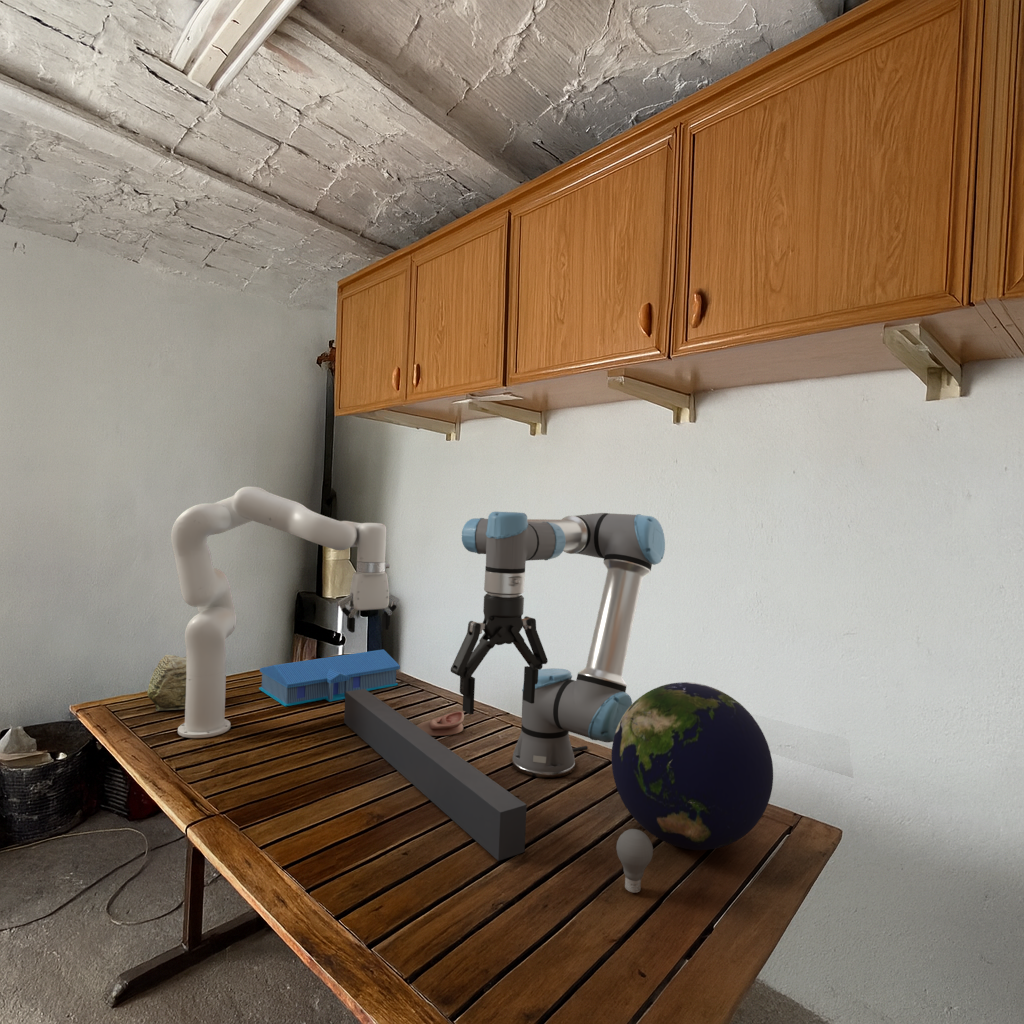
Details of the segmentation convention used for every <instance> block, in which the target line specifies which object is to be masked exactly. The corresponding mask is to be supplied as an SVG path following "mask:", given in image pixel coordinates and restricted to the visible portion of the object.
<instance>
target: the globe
mask: <svg viewBox="0 0 1024 1024" xmlns="http://www.w3.org/2000/svg"><path fill="white" fill-rule="evenodd" d="M611 745H612V746H611V757H610V758H611V771H612V776H613V780H614V784H615V787H616V790H617V792H618V795H619V797H620V799H621V801H622V803H623V804H624V806H625V808H626V809H627V811H628V813H629V815H631V816H632V817H633V819H634V820H635V821H636V822H637V823H638V824H639V825H640V826H641V827H642V828H643V829H644V830H645V831H647V832H648V833H649V834H651V835H652V836H653V837H655V838H656V839H659V840H660V841H662V842H664V843H666V844H668V845H671V846H673V847H676V848H680V849H683V850H684V849H685V850H690V851H691V850H692V851H710V850H716V849H720V848H723V847H726V846H729V845H731V844H733V843H735V842H737V841H739V840H740V839H742V838H744V837H745V836H746V835H747V834H748V833H750V832H751V831H752V830H753V828H755V826H756V825H757V824H758V822H759V821H760V820H761V819H762V817H763V815H764V813H765V812H766V810H767V807H768V805H769V803H770V799H771V796H772V791H773V786H774V785H773V784H774V767H773V766H774V763H773V759H772V753H771V749H770V746H769V743H768V741H767V738H766V736H765V734H764V732H763V730H762V728H761V727H760V725H759V724H758V722H757V721H756V720H755V718H754V717H753V715H752V714H751V713H750V711H748V709H747V708H746V707H745V706H744V705H742V704H741V702H739V701H737V700H736V699H735V698H733V697H732V696H730V695H729V694H728V693H725V692H723V691H721V690H720V689H718V688H715V687H712V686H709V685H705V684H702V683H697V682H692V681H691V682H690V681H685V682H682V681H681V682H673V683H667V684H663V685H660V686H657V687H654V688H652V689H650V690H649V691H647V692H645V693H644V694H642V695H640V697H639V698H637V699H636V700H635V701H633V702H632V704H631V706H630V707H629V708H628V710H627V711H626V712H625V714H624V715H623V717H622V718H621V720H620V722H619V724H618V727H617V729H616V732H615V736H614V739H613V742H612V744H611Z"/></svg>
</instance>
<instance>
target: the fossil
mask: <svg viewBox="0 0 1024 1024" xmlns="http://www.w3.org/2000/svg"><path fill="white" fill-rule="evenodd" d="M186 665H187V656H183V657H182V656H178V655H175V654H174V655H173V654H165V655H164V656H163V657H162V658H161V659H160V660H159V662H158V663H157V666H156V667H155V669H154V670H153V672H152V675H151V677H150V680H149V684H148V688H147V697H148V699H149V700H150V701H152V703H153V704H154V706H155V711H158V712H159V711H162V712H163V711H177V710H185V701H186Z"/></svg>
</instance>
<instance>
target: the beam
mask: <svg viewBox="0 0 1024 1024" xmlns="http://www.w3.org/2000/svg"><path fill="white" fill-rule="evenodd" d="M343 717H344V718H343V723H344V724H345V725H346V726H347V727H348V728H349V729H350V730H351V731H353V733H355V735H357V736H358V737H359V738H361V739H362V740H363V741H364V742H365V744H367V745H368V746H369V747H370V748H372V749H373V750H374V751H375V752H376V753H377V754H378V755H379V756H381V758H383V759H384V760H385V761H386V762H387V763H388V764H389V765H390V766H392V767H393V768H394V769H395V770H396V771H397V772H398V773H400V775H402V776H403V777H404V778H405V779H406V780H407V781H408V782H409V783H410V784H412V785H413V786H414V787H415V788H416V789H417V790H418V791H420V792H421V793H422V794H423V795H424V796H425V797H426V798H427V799H428V800H429V801H431V802H432V803H433V805H435V806H436V807H437V808H439V809H440V810H441V811H442V812H443V813H444V814H445V815H446V816H447V817H448V818H450V819H451V820H452V821H453V822H454V823H455V824H456V825H457V826H458V827H460V828H461V829H462V830H463V831H464V832H465V833H466V834H467V835H469V837H471V838H472V839H473V840H474V841H475V842H476V843H477V844H479V846H481V847H482V848H483V849H484V850H485V851H486V852H487V853H488V854H490V855H491V857H493V858H494V859H496V860H497V862H501V861H503V860H506V859H508V858H511V857H515V856H518V855H521V854H522V853H523V854H524V853H525V851H526V834H527V833H526V832H527V830H526V828H527V810H528V809H527V807H528V805H527V803H525V802H524V801H522V800H521V799H519V798H518V797H517V796H515V795H514V794H513V793H511V792H510V791H508V790H507V789H506V788H504V787H503V786H502V785H500V784H498V783H497V782H496V781H494V779H491V777H490V776H488V775H486V774H485V773H484V772H482V771H480V770H479V769H477V767H475V766H474V765H472V764H471V763H469V762H468V761H467V760H465V759H463V757H461V756H460V755H459V754H457V753H455V752H454V751H453V750H451V749H450V748H448V747H447V746H446V745H444V744H443V743H441V742H440V741H439V740H437V739H436V738H435V737H434V736H430V735H429V734H427V733H426V732H424V731H423V730H422V729H420V728H419V727H418V726H417V725H416V724H415V723H413V722H412V721H411V720H409V719H407V718H406V717H405V716H404V715H402V714H401V713H399V712H398V711H397V710H395V709H394V708H393V707H392V706H390V705H388V704H387V703H385V702H384V701H383V700H382V699H380V698H378V697H377V696H375V695H374V694H373V693H371V692H370V691H367V690H366V689H361V690H354V691H346V692H345V699H344V716H343Z"/></svg>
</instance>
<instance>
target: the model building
mask: <svg viewBox="0 0 1024 1024" xmlns="http://www.w3.org/2000/svg"><path fill="white" fill-rule="evenodd" d="M400 669H401V665H400V664H399V663H398V662H397V661H396V660H395V659H394V658H393V657H392V656H391V654H389V653H388V652H387V651H386V650H385V649H376V650H368V651H363V652H356V653H349V654H342V655H341V654H340V655H335V656H329V657H328V656H327V657H321V658H315V659H314V658H313V659H307V660H300V661H293V662H287V663H278V664H272V665H268V666H264V667H263V666H262V667H260V668H259V672H260V673H261V686H260V687H258V690H260V691H261V692H262V693H264V694H265V695H267V696H268V697H270V698H271V699H273V700H274V701H276V702H277V703H279V704H280V705H282V706H283V707H290V706H297V705H302V704H307V703H312V702H317V701H323V700H325V701H327V702H329V703H330V702H335V701H341V700H345V692H346V691H354V690H361V689H366V690H367V691H369V692H370V691H373V690H381V689H385V688H390V687H391V688H392V687H395V686H399V683H398V682H397V670H400Z"/></svg>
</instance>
